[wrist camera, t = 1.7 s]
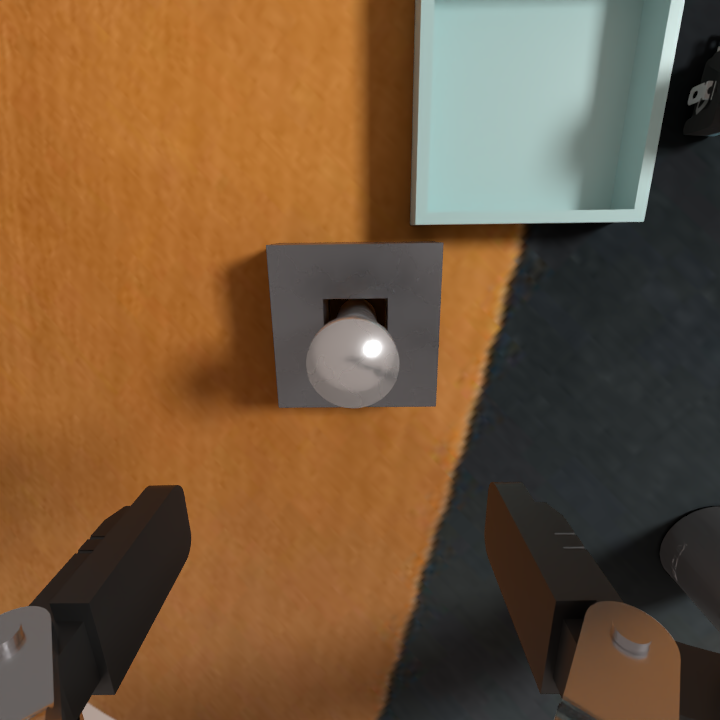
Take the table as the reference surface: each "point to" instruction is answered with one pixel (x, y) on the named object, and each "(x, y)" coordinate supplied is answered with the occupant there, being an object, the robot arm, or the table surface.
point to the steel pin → (353, 358)
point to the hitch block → (357, 281)
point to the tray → (538, 109)
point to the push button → (706, 101)
